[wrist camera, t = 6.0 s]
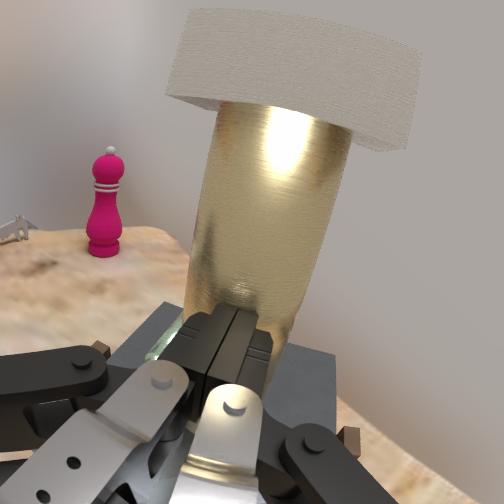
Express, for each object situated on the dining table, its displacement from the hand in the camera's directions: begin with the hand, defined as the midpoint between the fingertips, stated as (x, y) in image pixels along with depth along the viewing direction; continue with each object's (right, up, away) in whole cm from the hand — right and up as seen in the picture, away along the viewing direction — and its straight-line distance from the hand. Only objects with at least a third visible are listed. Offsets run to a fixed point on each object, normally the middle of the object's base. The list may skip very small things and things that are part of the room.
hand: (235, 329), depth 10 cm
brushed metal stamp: (-2, -8, +6) cm, 10 cm away
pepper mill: (-28, +3, +39) cm, 49 cm away
